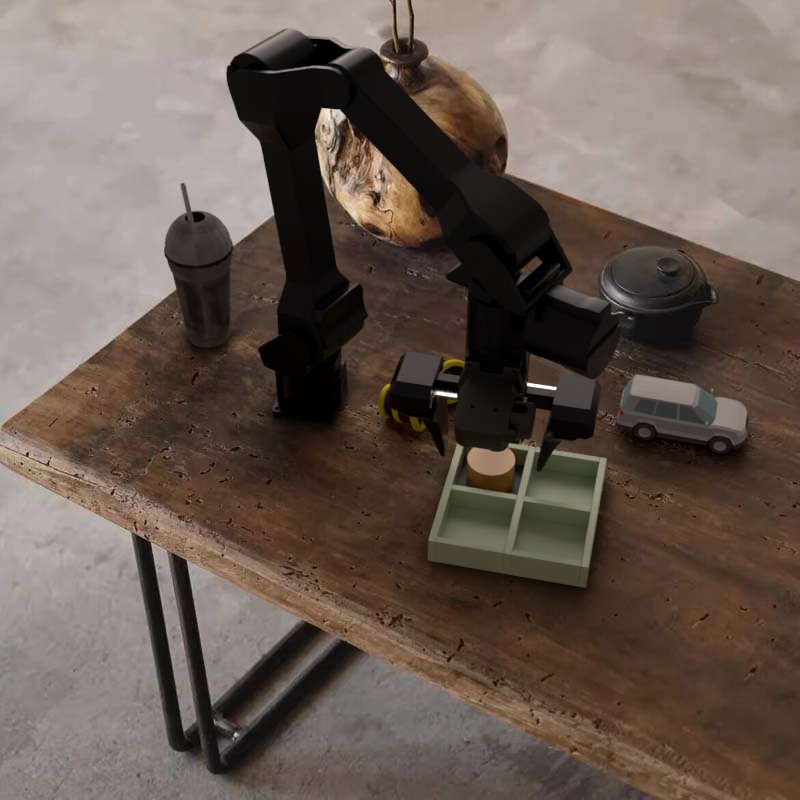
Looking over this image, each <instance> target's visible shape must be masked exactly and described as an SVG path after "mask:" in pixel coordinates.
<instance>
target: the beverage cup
mask: <svg viewBox="0 0 800 800" xmlns="http://www.w3.org/2000/svg"><path fill="white" fill-rule="evenodd" d="M179 186H180V190H181V194H182V199H183V204H184V207H185V212H184V213H182V214H180V215H179V216H177V217H176V218H175V219H174V220H173V221H172V222H171V224H170V225H169V228H168V230H167V232H166V235H165V237H164V249H163V253H164V254H163V255H164V257H165V259H166V261H167V262H166V263H167V265H168V268H169V271H170V272H171V273H172V277H173V281H174V285H175V289H176V292H177V293H176V294H177V299H178V302H179V306H180V310H181V314H182V318H183V322H184V326H185V330H186V332H187V336H188V340H189V341H190V343H191V344H192V345H194V346H196V347H199V348H203V349H211V348H216V347H219V346H221V345H223V344H225V343H226V342H227V341H228V340H229V337H230V325H231V266H232V259H233V251H234V244H233V240H232V238H231V234H230V232H229V229H228V228H227V226H226V224H224V223H223V221H222V220H221V219H220V218H219V217H217V216H216V215H214V214H212V213H211V212H208V211H205V210H192V207H191V203H190V198H189V195H188V190H187V186H186V183H185V182H181V183H180V184H179Z"/></svg>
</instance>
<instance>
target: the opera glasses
mask: <svg viewBox="0 0 800 800" xmlns="http://www.w3.org/2000/svg"><path fill="white" fill-rule="evenodd" d="M464 365H465V361H462V360H460V359H455V358H454V359H448V358H444V367H443V370H442V371H441V372H440V373H443V374H450V375H457V376H460V375H461V373H462V371H463V370H464ZM389 390H390V383H387V384H386V385H384V387H383V388H382V389H381V391H380V393H379V394H380V395H379V396H378V397H379V398H378V411H379V414H380V415H381V416H382V417H383V418H387V419H392V420H394V421H396V422H397V423H400V424H403V425H405V424H407V425H410V426H411V427H412V429H413V431H415V432H419V433H420V432H424V430H425V429H427V427H426V425H425V424H424V422H423V421H422V420H421V419H418V418H414V417H409V416H406V415H405V414H404V412H403V411H397V410H393V409H392V408H391V407H390V406H389ZM457 401H458V400H452V399H447V406H448V405H452V404H455V403H457Z"/></svg>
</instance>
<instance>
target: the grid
mask: <svg viewBox="0 0 800 800" xmlns="http://www.w3.org/2000/svg"><path fill="white" fill-rule="evenodd" d="M472 448H474V447H463V446H460V445H459V444H458V443H457V442H456V446H455V449H454V453H453V456H452V460H451V462H450V466H449V469H448V473H447V475H446V479H445V483H444V486H443V489H442V493H441V496H440V500H439V502H438V506H437V509H436V513H435V516H434V519H433V522H432V526H431V529H430V532H429V533H430V534H429V536H428V539H427V561H428V562H434V563H439V564H445V565H452V566H457V567H464V568H469V569H475V570H479V571H480V570H481V571H486V572H492V573H496V574H503V575H510V576H514V577H521V578H527V579H533V580H539V581H544V582H548V583H549V582H550V583H555V584H559V585H560V584H561V585H566V586H571V587H572V586H573V587H579V588H584V589H586V588H587V584H588V578H589V572H590V566H591V559H592V554H593V548H594V542H595V537H596V532H597V524H598V519H599V513H600V507H601V500H602V495H603V491H604V485H605V484H604V483H605V477H606V471H607V463H608V458H607V457H600V456H595V455H588V454H582V453H576V452H569V451H563V450H557V449H554V451H553V452H552V454H551V456H550V457H549V459H548V461H547V462H546V464H545V466H544V467H543V469H542V471H541V472H537V460H538V456H539V452H540V448H541V447H536V446H531V445H529V446H528V445H524V444H519V445H518V444H511V443H509V446H508V447H507V448H509V449H510V450H511V451H512V452H513V454H514V456H515V474H514V485H513V488H512V489H511V490H510V492H509V493H502V492H496V491H490V490H484V489H478V488H472V487H468V486H467V483H466V473H467V456H468V453H469V452H470V450H471V449H472Z"/></svg>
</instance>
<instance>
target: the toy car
mask: <svg viewBox="0 0 800 800" xmlns="http://www.w3.org/2000/svg"><path fill="white" fill-rule="evenodd" d="M615 424H616V426H617V427H618V428H620V429H623V430H625V431H627V432H630V433H632V432H633V434H634V435H635V437H636V438H638V439H639V440H642V441H650V440H652V439H654V437H655V436H656V438H661V439H667V440H672V441H678V442H684V443H688V444H689V443H690V444H696V445H700V446H708V448H709V449H710V450H711V451H712V452H713V453H716V454H726V453H729V452H730V451H731V449H732V450H739V449H740V448H741V447H743V446H744V444H745V443H746V441H747V440H748V433H749V425H750V417H749V414H748V411H747V409H746V406H745V405H744V404H743V403H742V402H741V401H739V400H736V399H732V398H729V397H722V396H714V389H713V388H710V393H709V392H708V391H706V390H705V389H703V388H701V387H700V386H698V385H697V384H695V383H690V382H683V381H677V380H673V379H667V378H661V377H656V376H650V375H644V374H635V375H634V376H633V377H632V378H631V379H629V380H628V382H627V383H626V385H625V387H624V389H623V390H622V394H621V398H620V402H619V408H618V412H617V416H616V421H615Z"/></svg>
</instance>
